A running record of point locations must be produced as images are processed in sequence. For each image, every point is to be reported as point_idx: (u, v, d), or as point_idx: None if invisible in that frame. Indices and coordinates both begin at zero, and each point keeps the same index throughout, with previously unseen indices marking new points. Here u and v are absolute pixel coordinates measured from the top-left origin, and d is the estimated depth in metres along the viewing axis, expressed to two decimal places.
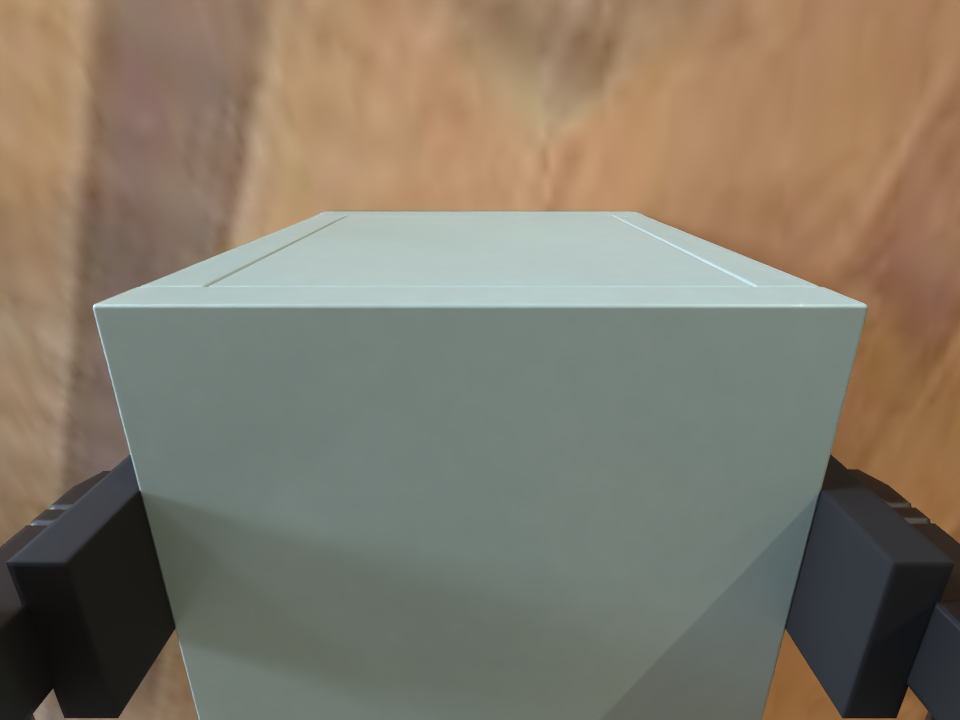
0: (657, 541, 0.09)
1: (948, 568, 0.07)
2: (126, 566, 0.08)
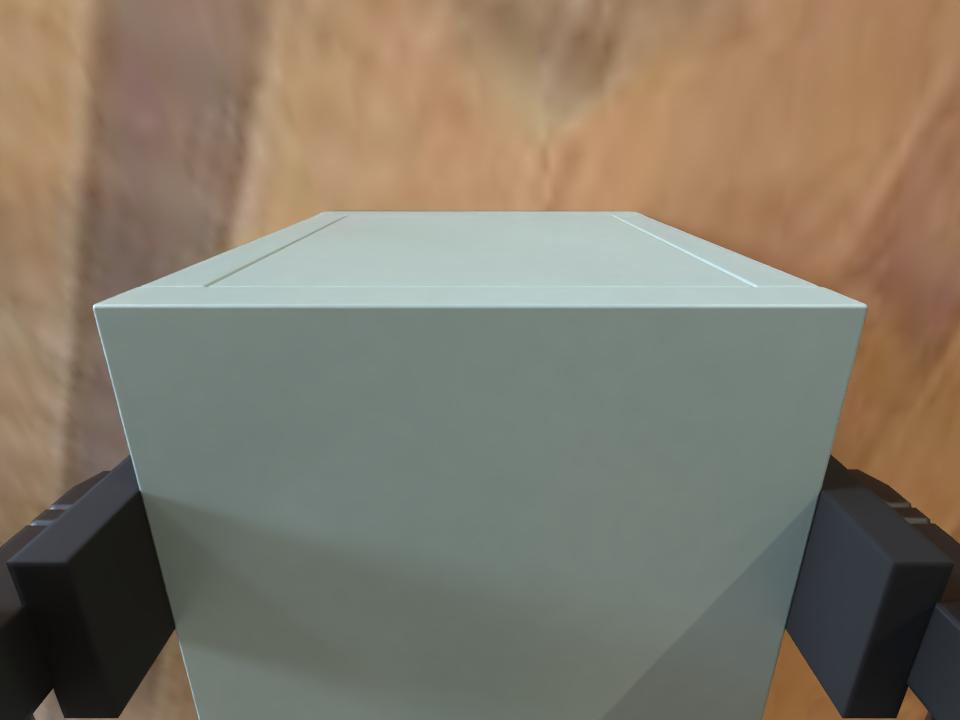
0: (657, 541, 0.09)
1: (948, 568, 0.07)
2: (126, 566, 0.08)
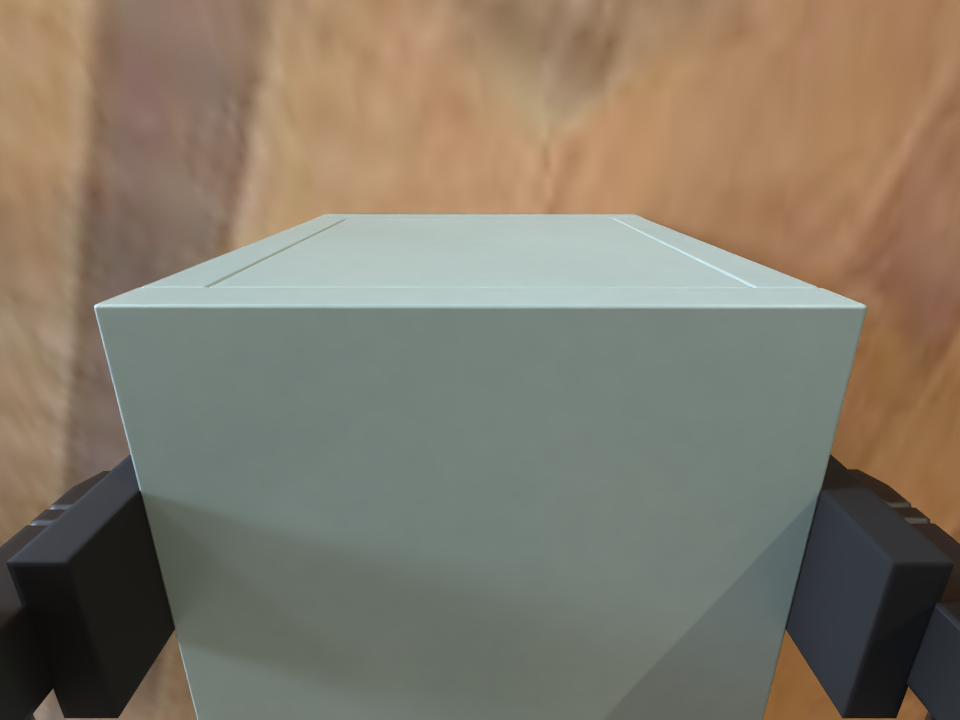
0: (657, 542, 0.09)
1: (948, 568, 0.07)
2: (126, 566, 0.08)
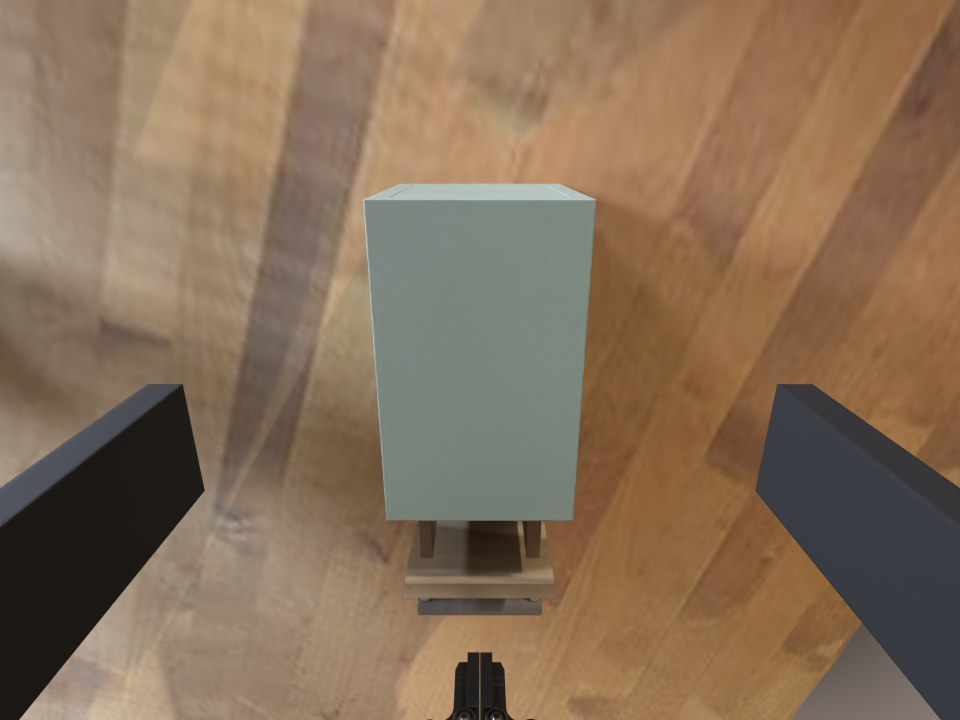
0: (539, 284, 0.25)
1: None
2: None
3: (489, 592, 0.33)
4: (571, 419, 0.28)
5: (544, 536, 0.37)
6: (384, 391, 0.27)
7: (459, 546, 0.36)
